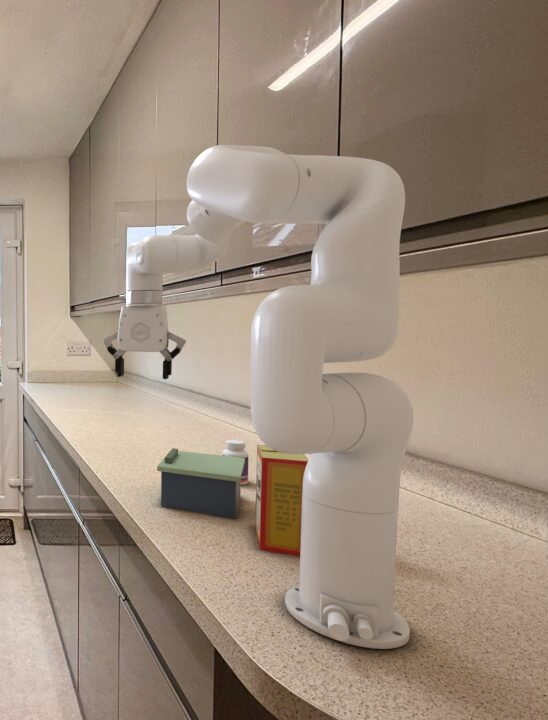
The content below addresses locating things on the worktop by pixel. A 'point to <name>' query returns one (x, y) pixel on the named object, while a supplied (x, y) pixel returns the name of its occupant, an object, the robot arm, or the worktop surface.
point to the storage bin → (200, 494)
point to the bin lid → (202, 465)
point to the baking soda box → (279, 500)
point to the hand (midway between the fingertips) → (142, 377)
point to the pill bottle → (237, 450)
